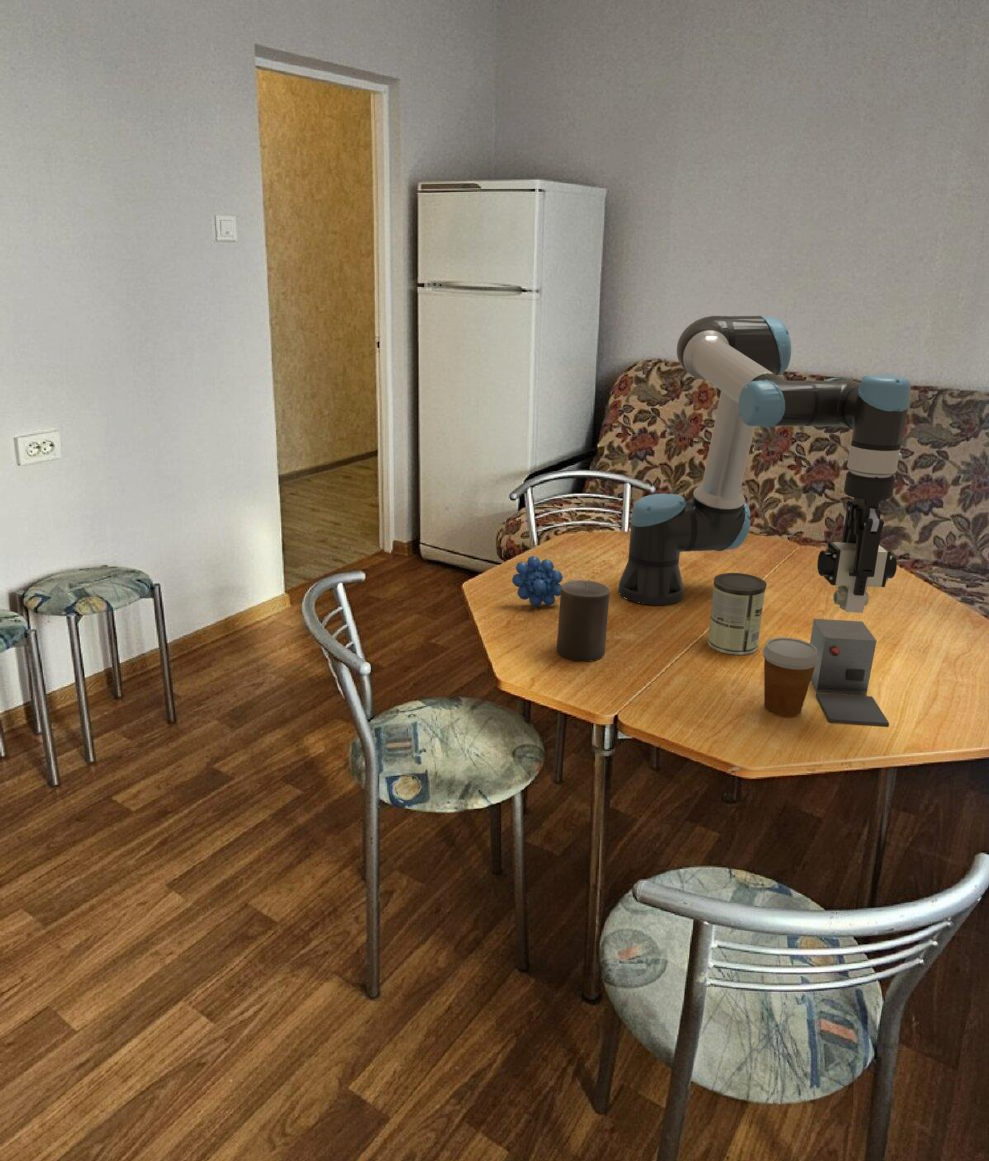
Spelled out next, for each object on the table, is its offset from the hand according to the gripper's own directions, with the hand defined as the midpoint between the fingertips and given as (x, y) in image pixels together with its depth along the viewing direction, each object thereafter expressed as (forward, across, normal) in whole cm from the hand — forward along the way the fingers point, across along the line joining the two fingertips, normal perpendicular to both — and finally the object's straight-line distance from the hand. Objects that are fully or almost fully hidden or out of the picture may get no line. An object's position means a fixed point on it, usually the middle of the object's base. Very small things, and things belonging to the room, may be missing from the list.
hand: (849, 605), depth 155 cm
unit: (+19, +10, -3) cm, 22 cm away
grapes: (+19, +38, +56) cm, 70 cm away
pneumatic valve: (0, 0, 0) cm, 0 cm away
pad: (+20, -1, -3) cm, 20 cm away
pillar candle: (+19, +16, +45) cm, 52 cm away
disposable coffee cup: (+20, -2, +9) cm, 22 cm away
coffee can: (+19, +25, +15) cm, 35 cm away
